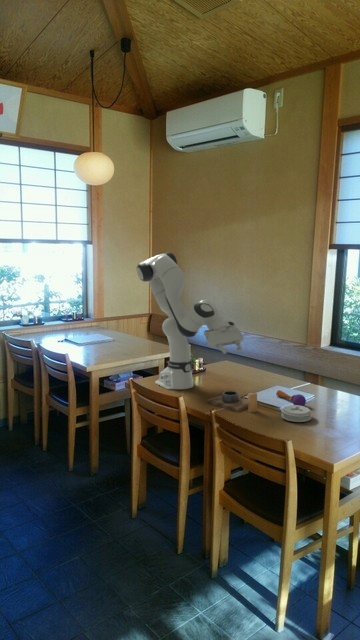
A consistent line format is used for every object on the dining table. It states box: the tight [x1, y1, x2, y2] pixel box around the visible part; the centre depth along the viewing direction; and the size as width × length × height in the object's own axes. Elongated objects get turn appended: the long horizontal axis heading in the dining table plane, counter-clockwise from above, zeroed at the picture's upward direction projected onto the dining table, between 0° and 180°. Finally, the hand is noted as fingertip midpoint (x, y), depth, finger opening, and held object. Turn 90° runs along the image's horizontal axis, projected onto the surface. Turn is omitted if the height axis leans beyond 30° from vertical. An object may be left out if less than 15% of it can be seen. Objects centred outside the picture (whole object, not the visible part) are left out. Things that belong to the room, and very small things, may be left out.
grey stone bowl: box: [221, 390, 240, 403], centre depth 219 cm, size 8×8×4 cm
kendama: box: [276, 389, 307, 407], centre depth 221 cm, size 6×6×20 cm
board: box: [207, 395, 248, 413], centre depth 219 cm, size 18×14×2 cm
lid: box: [280, 404, 312, 423], centre depth 199 cm, size 13×13×5 cm
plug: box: [247, 392, 258, 414], centre depth 209 cm, size 4×4×8 cm
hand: (233, 351), depth 215 cm, fingers open, 8 cm apart
